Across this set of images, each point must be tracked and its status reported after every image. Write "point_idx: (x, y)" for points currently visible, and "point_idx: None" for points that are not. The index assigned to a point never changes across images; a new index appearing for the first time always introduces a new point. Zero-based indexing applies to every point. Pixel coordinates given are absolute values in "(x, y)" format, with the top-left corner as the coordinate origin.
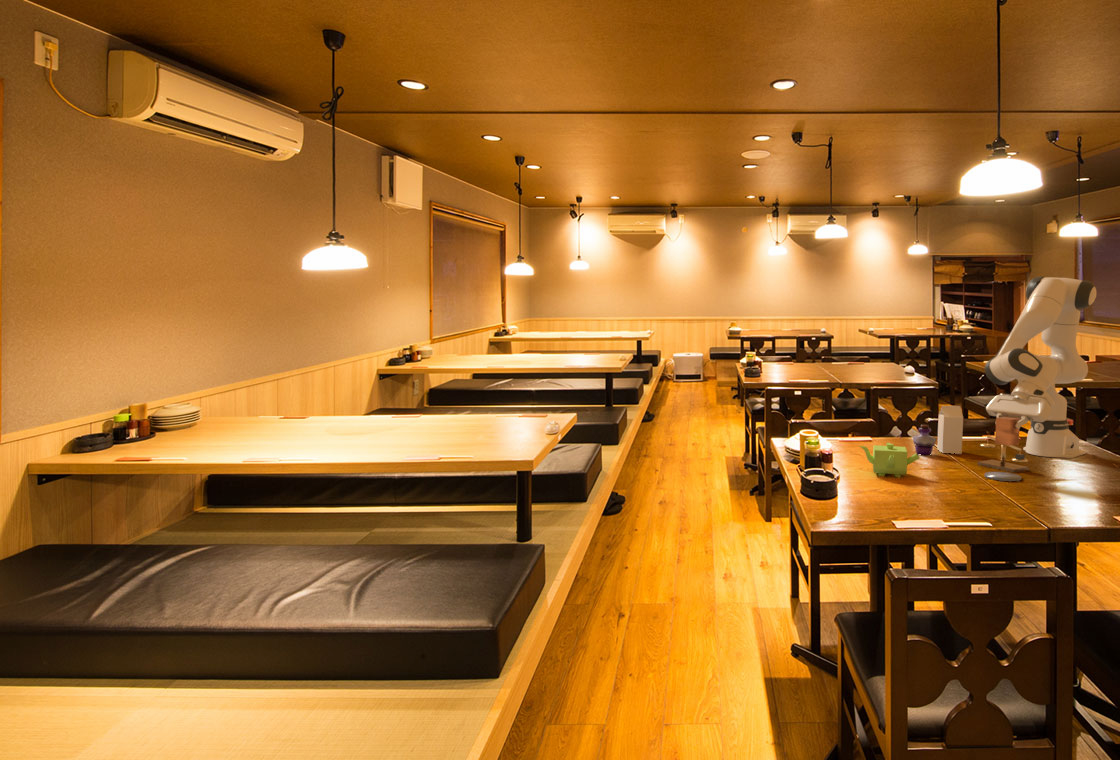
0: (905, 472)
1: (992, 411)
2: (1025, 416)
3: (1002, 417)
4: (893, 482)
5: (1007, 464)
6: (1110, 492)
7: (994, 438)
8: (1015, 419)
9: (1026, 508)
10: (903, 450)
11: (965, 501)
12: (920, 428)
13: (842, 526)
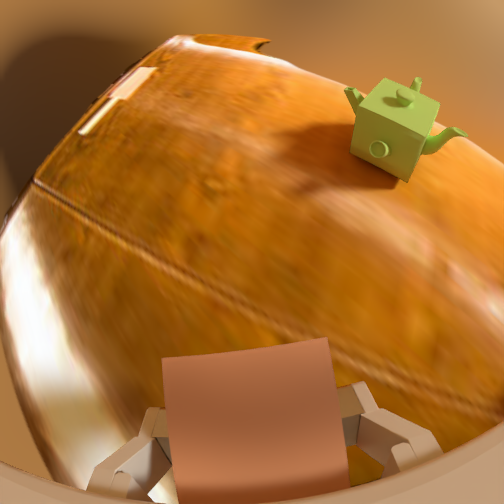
0: (351, 147)
1: (499, 426)
2: (90, 488)
3: (322, 422)
4: (321, 126)
5: None
6: None
7: None
8: (171, 445)
9: (72, 217)
10: (377, 108)
11: (153, 155)
12: None
13: (171, 44)
